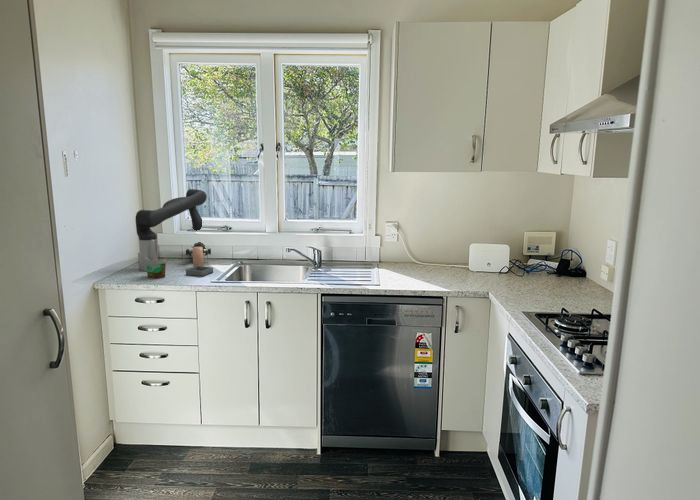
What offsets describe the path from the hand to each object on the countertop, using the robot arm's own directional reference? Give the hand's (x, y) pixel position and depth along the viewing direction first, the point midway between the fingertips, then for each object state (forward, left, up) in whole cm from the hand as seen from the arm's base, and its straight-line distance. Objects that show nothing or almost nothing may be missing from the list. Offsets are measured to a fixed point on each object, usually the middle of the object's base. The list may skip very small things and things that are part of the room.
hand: (198, 254), depth 275 cm
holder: (+12, -16, -7) cm, 21 cm away
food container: (-5, -32, -7) cm, 33 cm away
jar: (+3, -4, -7) cm, 9 cm away
